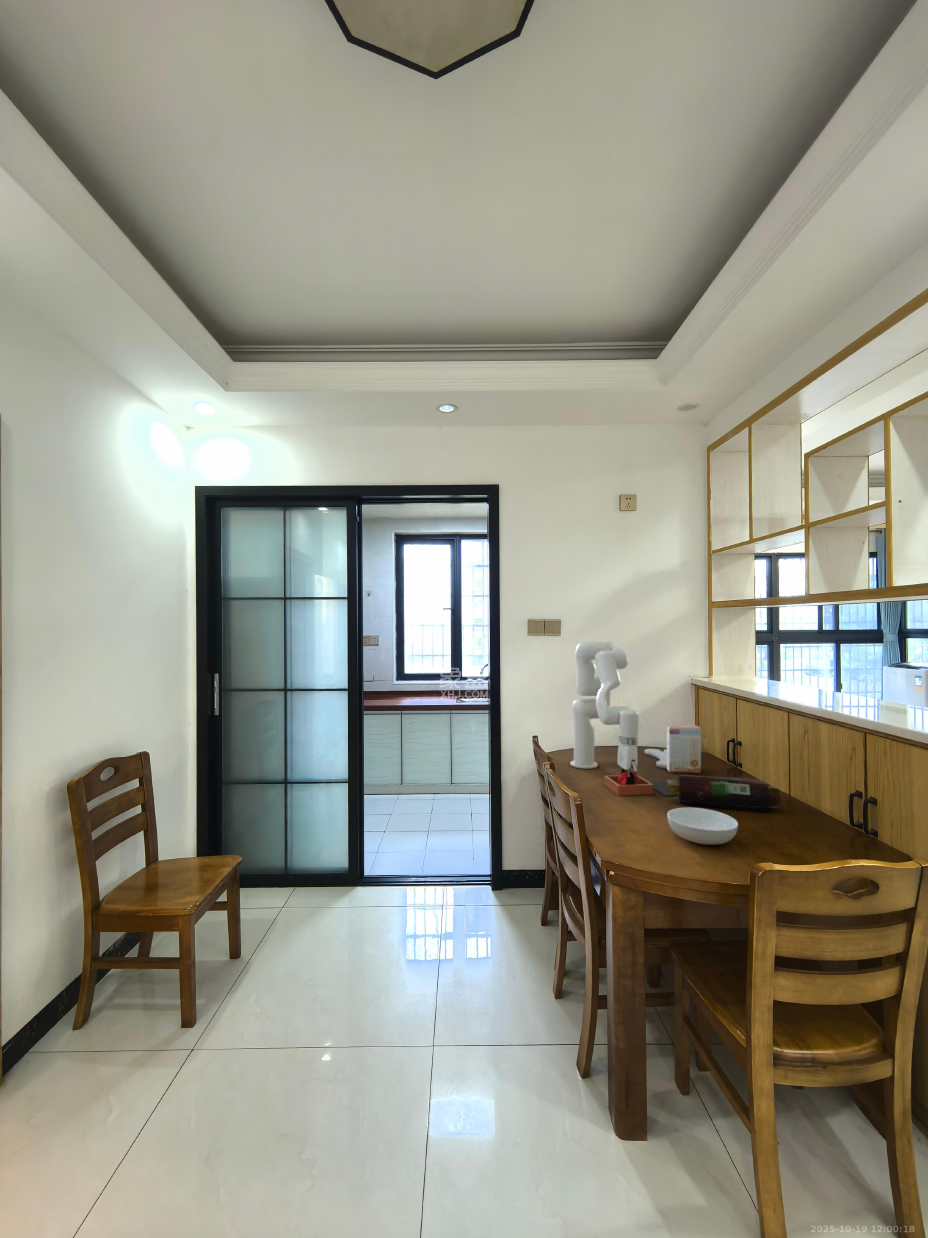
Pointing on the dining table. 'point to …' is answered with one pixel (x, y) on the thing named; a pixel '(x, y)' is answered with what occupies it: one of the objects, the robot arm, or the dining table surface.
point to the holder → (659, 755)
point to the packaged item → (725, 792)
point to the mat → (661, 788)
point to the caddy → (629, 786)
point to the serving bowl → (702, 825)
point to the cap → (624, 778)
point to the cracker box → (683, 749)
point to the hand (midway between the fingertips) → (627, 783)
